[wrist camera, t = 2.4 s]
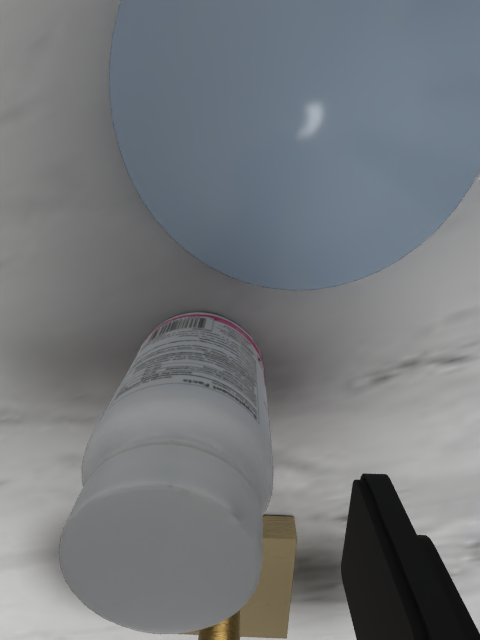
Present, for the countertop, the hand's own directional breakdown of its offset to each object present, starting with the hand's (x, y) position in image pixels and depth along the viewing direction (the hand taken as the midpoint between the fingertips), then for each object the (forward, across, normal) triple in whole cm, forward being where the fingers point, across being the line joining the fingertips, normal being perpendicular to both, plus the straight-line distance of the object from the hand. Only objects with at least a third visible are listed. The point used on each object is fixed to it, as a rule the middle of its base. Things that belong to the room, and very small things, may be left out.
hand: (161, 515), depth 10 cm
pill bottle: (+7, 0, -1) cm, 7 cm away
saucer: (+6, -3, -10) cm, 12 cm away
